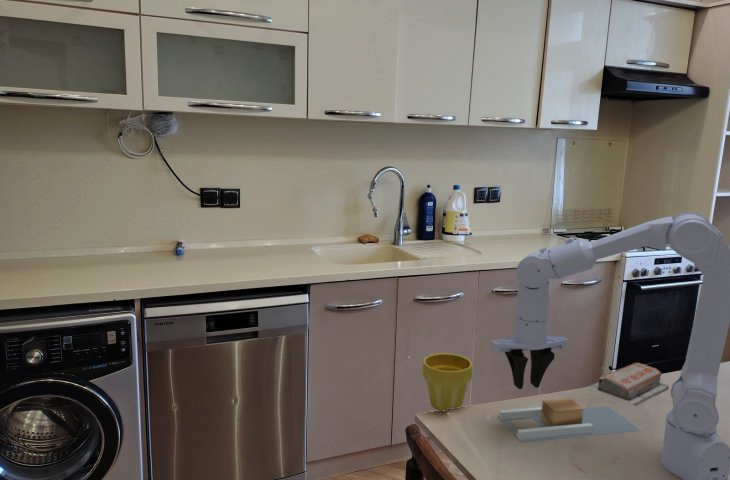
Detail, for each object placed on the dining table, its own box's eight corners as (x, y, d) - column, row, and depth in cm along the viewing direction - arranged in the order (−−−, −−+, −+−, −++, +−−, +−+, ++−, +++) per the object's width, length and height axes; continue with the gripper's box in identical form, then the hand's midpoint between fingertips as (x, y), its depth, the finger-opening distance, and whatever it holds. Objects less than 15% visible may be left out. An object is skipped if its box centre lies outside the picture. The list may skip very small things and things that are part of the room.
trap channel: (640, 435, 104) (642, 423, 103) (521, 447, 98) (522, 434, 98) (607, 410, 113) (608, 399, 113) (497, 420, 108) (498, 408, 108)
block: (581, 428, 104) (583, 408, 103) (553, 430, 103) (554, 411, 102) (568, 416, 108) (569, 398, 107) (540, 419, 107) (542, 400, 106)
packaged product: (629, 357, 132) (671, 371, 124) (627, 375, 132) (668, 390, 124) (586, 373, 121) (630, 390, 113) (584, 393, 122) (627, 411, 114)
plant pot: (413, 397, 118) (415, 354, 116) (456, 391, 121) (458, 350, 119) (433, 420, 108) (435, 373, 106) (479, 413, 111) (482, 368, 109)
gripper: (555, 309, 105) (549, 374, 108) (486, 312, 102) (482, 379, 105) (576, 320, 99) (569, 390, 101) (502, 324, 96) (498, 396, 98)
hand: (526, 386), depth 102 cm, fingers open, 3 cm apart
